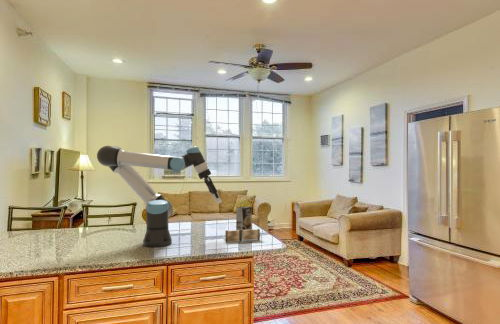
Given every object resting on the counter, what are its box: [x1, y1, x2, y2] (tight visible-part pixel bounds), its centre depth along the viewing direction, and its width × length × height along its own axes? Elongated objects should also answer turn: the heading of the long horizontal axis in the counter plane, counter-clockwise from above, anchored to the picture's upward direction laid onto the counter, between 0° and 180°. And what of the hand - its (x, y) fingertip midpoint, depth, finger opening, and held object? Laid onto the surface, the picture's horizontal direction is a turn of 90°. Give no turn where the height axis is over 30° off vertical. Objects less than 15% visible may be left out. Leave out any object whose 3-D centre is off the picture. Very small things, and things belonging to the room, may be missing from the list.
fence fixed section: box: [224, 229, 242, 243], centre depth 180 cm, size 10×2×6 cm, turn 103°
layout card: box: [221, 235, 261, 244], centre depth 186 cm, size 20×16×1 cm
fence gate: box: [242, 228, 261, 240], centre depth 182 cm, size 10×1×6 cm, turn 103°
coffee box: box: [235, 206, 253, 230], centre depth 206 cm, size 9×6×16 cm
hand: (218, 202), depth 192 cm, fingers open, 13 cm apart
